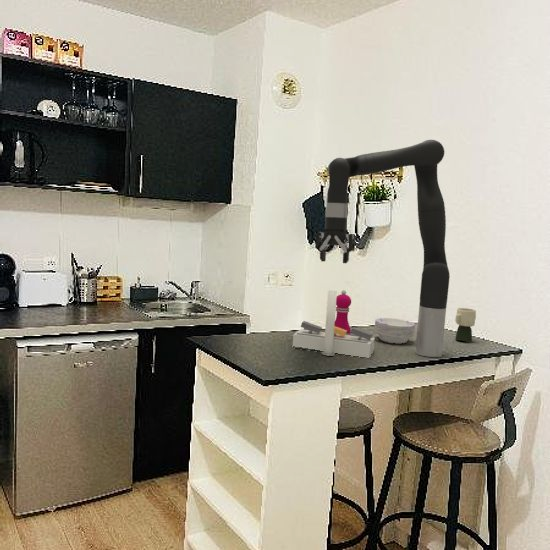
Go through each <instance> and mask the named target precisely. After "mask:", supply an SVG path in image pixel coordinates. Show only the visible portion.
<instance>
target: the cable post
mask: <svg viewBox="0 0 550 550" xmlns="http://www.w3.org/2000/svg"><path fill="white" fill-rule="evenodd" d="M337 294H338V292H337V291H335V290H328V291H327V301H326V314H325V315H326V316H325V326H324V327H325V329H324V331H325V341H324V352H321V354H323V355H327V356H334V357H335V355H336V354H335V353H333V339H334V325H335V320H336V313H337V311H336V307H337V305H336V298H337V296H338V295H337Z"/></svg>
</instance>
